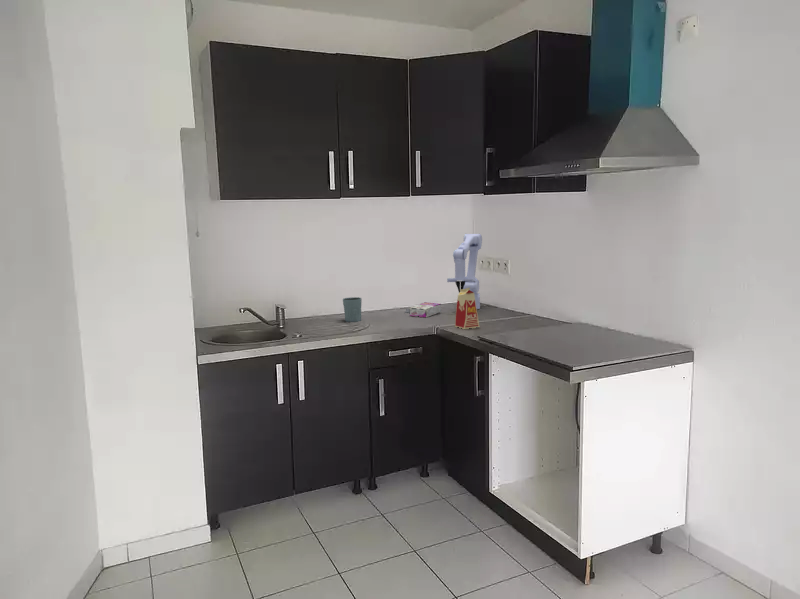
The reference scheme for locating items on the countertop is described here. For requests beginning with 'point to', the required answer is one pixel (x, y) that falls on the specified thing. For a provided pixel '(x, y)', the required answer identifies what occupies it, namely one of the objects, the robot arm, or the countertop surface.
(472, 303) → the milk carton
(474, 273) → the robot arm
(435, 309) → the candy bar box
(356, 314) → the teal cup
